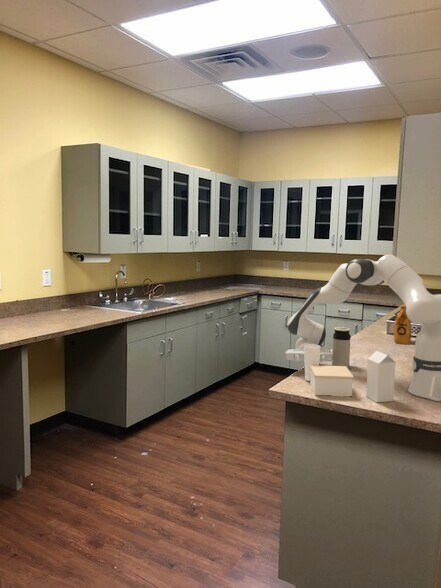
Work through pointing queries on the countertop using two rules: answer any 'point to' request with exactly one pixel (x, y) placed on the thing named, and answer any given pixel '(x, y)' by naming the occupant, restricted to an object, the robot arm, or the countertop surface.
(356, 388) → the countertop surface
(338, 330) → the travel mug
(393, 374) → the milk carton
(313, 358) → the white ceramic cup
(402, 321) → the coffee package
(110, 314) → the countertop surface
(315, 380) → the painted box
